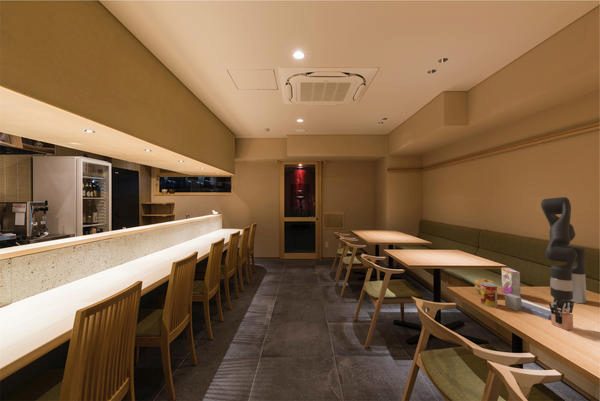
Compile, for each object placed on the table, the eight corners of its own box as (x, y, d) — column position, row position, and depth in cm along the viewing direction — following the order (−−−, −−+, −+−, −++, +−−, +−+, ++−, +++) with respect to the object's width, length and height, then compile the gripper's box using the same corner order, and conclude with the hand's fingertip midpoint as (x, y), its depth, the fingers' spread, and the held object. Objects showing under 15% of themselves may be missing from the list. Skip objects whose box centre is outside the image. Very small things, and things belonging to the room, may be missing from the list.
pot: (477, 295, 159) (477, 280, 159) (472, 289, 170) (472, 275, 170) (499, 298, 155) (499, 282, 155) (493, 291, 165) (492, 277, 165)
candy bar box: (501, 291, 166) (500, 267, 166) (509, 291, 165) (509, 267, 165) (512, 297, 155) (511, 272, 155) (521, 298, 154) (520, 272, 154)
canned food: (480, 300, 152) (479, 281, 152) (496, 303, 148) (495, 283, 148) (481, 305, 145) (481, 285, 145) (498, 308, 141) (498, 287, 141)
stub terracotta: (557, 322, 123) (556, 309, 123) (573, 328, 117) (572, 314, 117) (551, 324, 122) (551, 310, 122) (567, 330, 116) (567, 315, 116)
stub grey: (510, 305, 144) (509, 293, 144) (521, 309, 138) (521, 297, 138) (505, 306, 143) (504, 294, 143) (516, 310, 137) (516, 298, 137)
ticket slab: (521, 301, 149) (521, 298, 149) (564, 316, 129) (564, 312, 129) (506, 304, 146) (506, 300, 146) (548, 319, 126) (548, 315, 126)
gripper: (561, 283, 125) (562, 317, 125) (541, 286, 121) (542, 321, 121) (581, 288, 117) (582, 324, 117) (561, 292, 114) (561, 328, 114)
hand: (561, 322), depth 119 cm, fingers closed on stub terracotta, 4 cm apart
